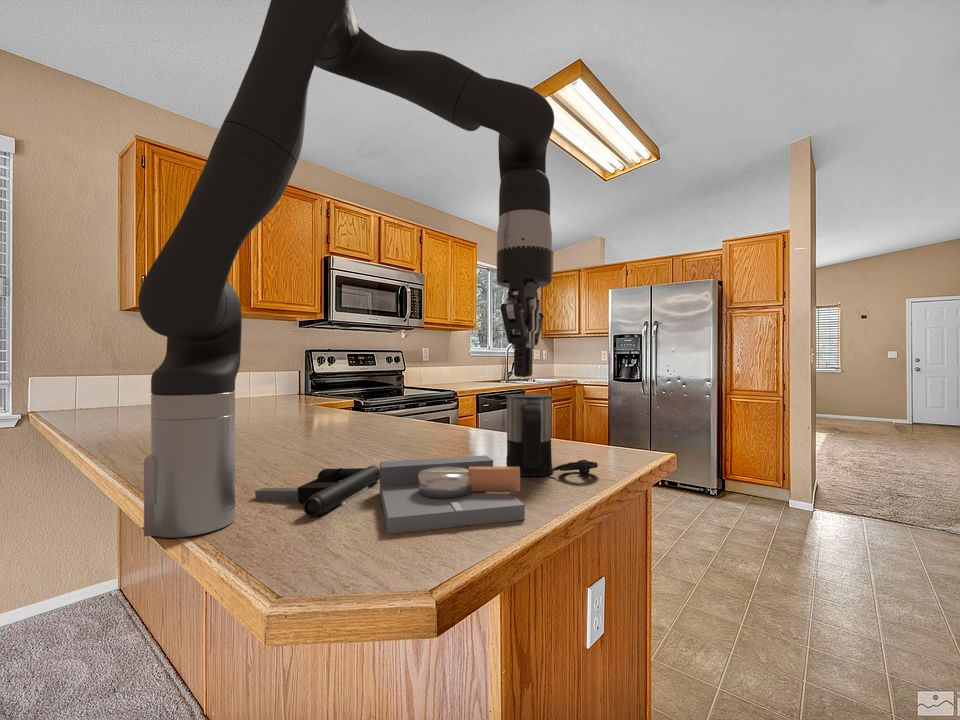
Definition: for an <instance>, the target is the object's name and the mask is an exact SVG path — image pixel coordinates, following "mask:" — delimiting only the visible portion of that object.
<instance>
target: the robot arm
mask: <svg viewBox="0 0 960 720" xmlns="http://www.w3.org/2000/svg"><path fill="white" fill-rule="evenodd" d="M315 67H316V68H319V69H320V70H324V71H326V72H329V73H331V74H335V75H336V76H337V75H338V76H340V77H343V78H346V79H349V80H351V81H355V82H358V83H362V84H364V85H366V86H370V87H372V88H374V89H375V88H376V89H378V90H381V91H383V92H387V93H389V94H391V95H394V96H397V97H399V98H401V99H403V100H406V101H408V102H410V103H412V104H415V105H417V106H418V107H421V109H422V108H423V109H425V110H426V111H428V112H430V113H432V114H433V115H435V116H437V117H439V118H441V119H443V120H445V121H447V122H449V123H450V124H452V125H454V126H456V127H457V128H460V129H462V130H464V131H467V132H474V131H477V130H478V129H479V128H480V127H484V128H486V129H489V130H492V131H495V132H497V133H498V143H497V144H498V148H497V149H498V167H499V178H500V179H499V180H500V184H499V195H498V225H497V231H496V232H497V233H496V283H497V285H499V286H500V287H504V288H507V289H508V291H507V298H506V299H505V303H501V305H500V313H501V317H502V321H503V325H504V330H505V335H506V340H507V343H508V344H509V345H511V347H512V349H513V375H514V377H517V378H530V377H531V376H533V350H535V347H536V346H537V345H539V344H538V343H539V340H540V334H541V331H542V330H541V329H542V326H543V320H544V313H543V312H542V300H541V299H540V298H539V294H538V290H539V288H544V287H547V286H549V285H550V284H551V283H552V280H553V279H552V277H553V276H552V275H553V273H552V271H553V270H552V269H553V267H552V265H553V262H552V260H553V258H552V256H553V255H552V254H553V251H552V249H553V242H552V241H553V234H552V233H553V232H552V224H551V185H550V181H549V178H548V176H547V173H546V171H547V170H546V167H547V166H546V165H547V162H546V159H547V149H548V144H549V141H550V138H551V136H552V132H553V130H554V125H555V113H554V112H555V111H554V110H553V109H554V108H553V107H552V105H551V104H550V102H549V101H548V99H546V98H545V97H544V96H543V95H542V94H541V93H539V92H538V91H536V90H535V89H532V88H530V87H528V86H525V85H522V84H519V83H516V82H515V83H514V82H511V81H506V80H502V79H500V78H492V77H487V76H484V75H482V73H479V72H478V71H476V70H474V69H471V68H470V67H469V66H466V65H465V64H462V63H460V62H459V61H457V60H455V59H453V58H452V57H449V56H447V55H445V54H442V53H439V52H435V51H430V50H417V49H412V50H411V49H399V48H395V47H391V46H388V45H387V44H384V43H382V42H380V41H379V40H377V39H376V38H374V37H373V36H371V35H370V34H369V33H367V32H366V31H365V30H364V29H362V28H361V27H360V26H358V21H357V17H356V14H355V11H354V7H353V4H352V1H351V0H270V2H269V6H268V9H267V13H266V16H265V19H264V22H263V26H262V29H261V32H260V35H259V39H258V41H257V45H256V47H255V50H254V52H253V55H252V58H251V60H250V62H249V65H248V67H247V69H246V71H245V73H244V77H243V78H242V80H241V83H240V86H239V88H238V90H237V93H236V95H235V98H234V100H233V102H232V104H231V106H230V109H229V110H228V112H227V114H226V115H225V118H224V120H223V121H222V124H221V126H220V128H219V130H218V133H217V135H216V138H215V140H214V142H213V145H212V146H211V150H210V153H209V155H208V157H207V159H206V162H205V165H204V167H203V169H202V170H201V173H200V175H199V177H198V179H197V181H196V184H195V186H194V188H193V190H192V192H191V195H190V197H189V200H188V202H187V204H186V207H185V209H184V210H183V212H182V213H183V214H181V216H180V219H179V220H178V222H177V224H176V225H175V227H174V229H173V231H172V233H171V234H170V236H169V238H168V239H167V241H166V242H165V244H164V246H163V247H162V249H161V251H160V252H159V254H158V255H157V257H156V259H155V260H154V262H153V263H152V265H151V267H150V268H149V270H148V272H147V273H146V276H145V277H144V280H143V282H142V283H141V287H140V290H139V293H138V300H137V301H138V302H137V303H138V308H139V309H138V310H139V313H140V315H141V316H140V317H141V318H142V320H143V322H144V323H145V325H146V326H147V327H148V328H149V329H150V330H152V331H153V332H155V333H157V334H158V335H161V336H163V337H166V349H165V350H166V352H165V356H164V359H163V361H162V363H160V365H159V366H158V367H157V368H156V369H154V371H153V372H152V374H151V376H150V393H151V394H150V407H151V408H150V428H151V429H150V436H151V437H150V455H148V456H146V457H145V458H144V460H143V537H159V538H167V539H168V538H169V539H170V538H172V539H173V538H175V539H176V538H187V537H193V536H199V535H203V534H207V533H211V532H214V531H217V530H220V529H222V528H225V527H227V526H228V525H231V524H232V523H233V522H234V521H235V519H236V379H237V376H238V372H239V370H240V365H241V354H242V353H241V352H242V351H241V350H242V327H243V326H242V323H243V322H242V321H243V315H242V306H241V300H240V298H239V296H238V293H237V291H236V290H235V289H234V287H233V286H232V285H231V284H230V283H229V282H228V277H229V274H230V271H231V269H232V267H233V264H234V261H235V258H236V256H237V254H238V252H239V250H240V247H242V244H243V243H244V241H245V240H246V238H247V237H248V236H249V234H250V233H251V232H252V231H253V230H254V228H256V227H257V226H258V225H259V224H260V222H262V221H263V219H264V218H265V217H266V216H267V215H268V214H269V213H270V212H271V211H272V210H273V208H274V207H275V206H276V205H277V204H278V203H279V201H280V200H281V198H282V196H283V194H284V192H285V190H286V189H287V186H288V184H289V182H290V180H291V178H292V176H293V175H292V174H293V173H294V170H295V168H296V166H297V164H298V161H299V158H300V155H301V152H302V149H303V142H304V137H305V136H304V135H305V126H306V115H307V104H308V103H307V102H308V92H309V86H310V80H311V78H312V74H313V71H314V69H315Z"/></svg>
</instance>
